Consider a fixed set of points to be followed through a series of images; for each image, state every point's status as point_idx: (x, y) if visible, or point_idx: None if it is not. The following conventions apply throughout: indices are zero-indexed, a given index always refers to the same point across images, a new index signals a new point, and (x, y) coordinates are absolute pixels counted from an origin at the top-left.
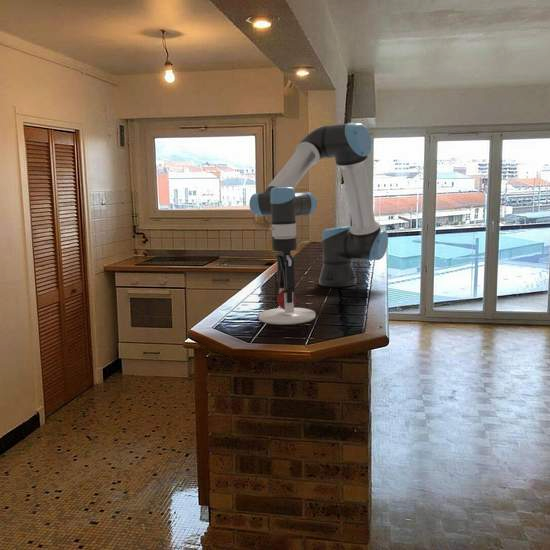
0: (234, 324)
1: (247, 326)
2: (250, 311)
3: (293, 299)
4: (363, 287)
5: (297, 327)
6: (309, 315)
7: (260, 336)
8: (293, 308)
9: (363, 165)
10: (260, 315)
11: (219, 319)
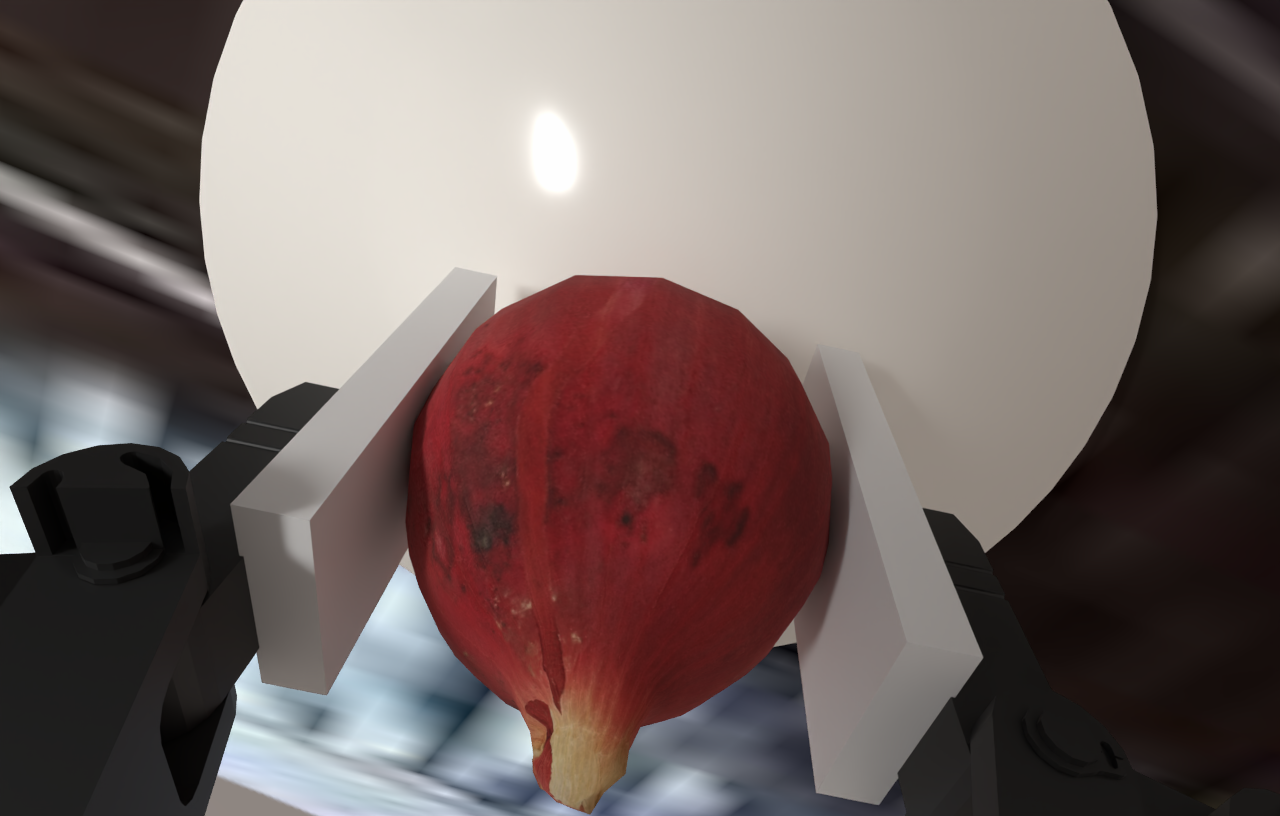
0: (639, 784)
1: (776, 751)
2: None
3: (821, 443)
4: None
5: (1250, 453)
6: (1033, 77)
7: None
8: (873, 393)
9: None
10: None
11: (405, 793)
